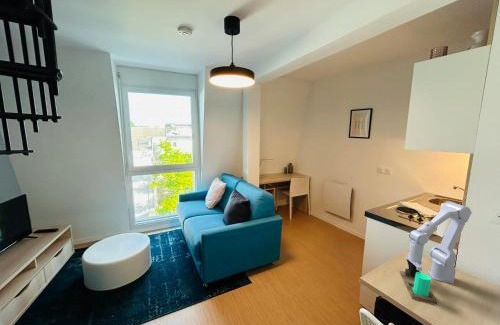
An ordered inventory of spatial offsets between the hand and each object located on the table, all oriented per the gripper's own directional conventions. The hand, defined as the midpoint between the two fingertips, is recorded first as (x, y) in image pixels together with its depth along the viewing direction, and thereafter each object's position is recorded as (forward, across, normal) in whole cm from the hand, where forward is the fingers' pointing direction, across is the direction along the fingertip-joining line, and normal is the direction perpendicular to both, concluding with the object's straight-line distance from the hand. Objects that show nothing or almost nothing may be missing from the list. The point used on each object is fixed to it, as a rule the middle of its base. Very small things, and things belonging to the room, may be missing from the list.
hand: (412, 274), depth 118 cm
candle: (+3, +12, 0) cm, 13 cm away
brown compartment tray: (+3, +7, 0) cm, 8 cm away
